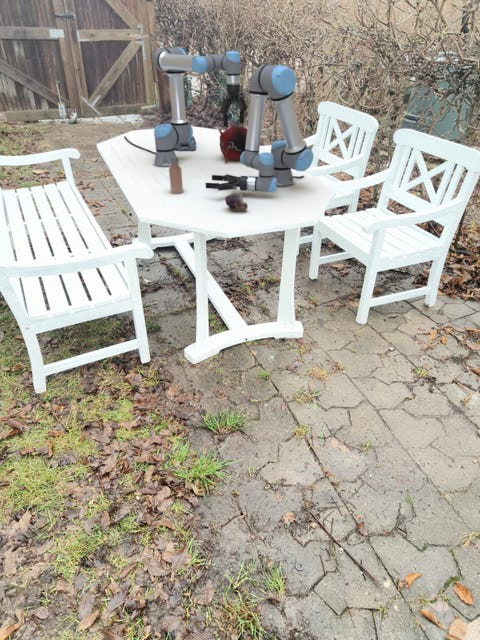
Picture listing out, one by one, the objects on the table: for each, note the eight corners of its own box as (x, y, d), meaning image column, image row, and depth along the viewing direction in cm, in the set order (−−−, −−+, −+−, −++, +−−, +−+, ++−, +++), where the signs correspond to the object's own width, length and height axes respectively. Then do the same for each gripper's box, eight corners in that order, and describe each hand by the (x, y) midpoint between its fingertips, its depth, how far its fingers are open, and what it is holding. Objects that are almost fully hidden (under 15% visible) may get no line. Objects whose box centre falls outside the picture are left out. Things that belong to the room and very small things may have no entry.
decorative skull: (216, 132, 306) (216, 129, 283) (250, 124, 306) (252, 120, 282) (223, 164, 313) (223, 164, 290) (256, 156, 312) (259, 156, 289)
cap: (173, 160, 241) (172, 156, 240) (179, 161, 240) (179, 157, 239) (169, 162, 238) (168, 158, 237) (175, 162, 237) (175, 159, 236)
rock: (239, 207, 231) (221, 210, 227) (238, 190, 228) (220, 192, 223) (250, 210, 222) (232, 213, 218) (249, 193, 218) (231, 195, 214)
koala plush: (196, 150, 320) (194, 121, 309) (171, 151, 319) (168, 122, 308) (196, 145, 335) (194, 116, 324) (172, 145, 334) (169, 117, 322)
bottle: (175, 189, 252) (172, 156, 242) (185, 190, 250) (182, 157, 240) (168, 192, 247) (165, 159, 237) (179, 194, 245) (176, 161, 235)
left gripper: (222, 86, 238) (223, 129, 250) (253, 82, 253) (253, 122, 265) (212, 85, 242) (214, 127, 254) (243, 81, 257) (243, 120, 269)
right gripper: (243, 198, 230) (203, 196, 234) (251, 183, 250) (214, 181, 254) (243, 183, 226) (202, 181, 229) (251, 169, 246) (214, 167, 249)
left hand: (233, 125), depth 259 cm, fingers open, 13 cm apart
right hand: (208, 181), depth 242 cm, fingers open, 13 cm apart
